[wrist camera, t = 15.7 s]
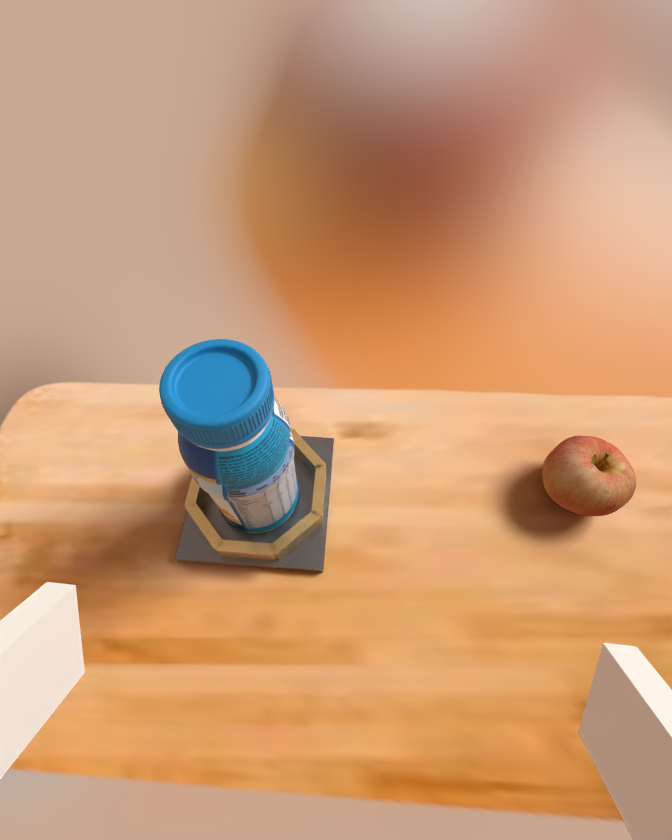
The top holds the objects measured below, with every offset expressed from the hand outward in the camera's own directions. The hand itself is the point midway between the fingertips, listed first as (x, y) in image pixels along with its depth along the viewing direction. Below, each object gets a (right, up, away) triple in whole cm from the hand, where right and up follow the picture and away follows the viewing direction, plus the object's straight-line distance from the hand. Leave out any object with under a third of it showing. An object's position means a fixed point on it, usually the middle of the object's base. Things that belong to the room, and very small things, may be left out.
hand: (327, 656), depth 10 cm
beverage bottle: (-8, -2, +32) cm, 33 cm away
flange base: (-8, -2, +33) cm, 33 cm away
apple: (+25, -2, +34) cm, 42 cm away
